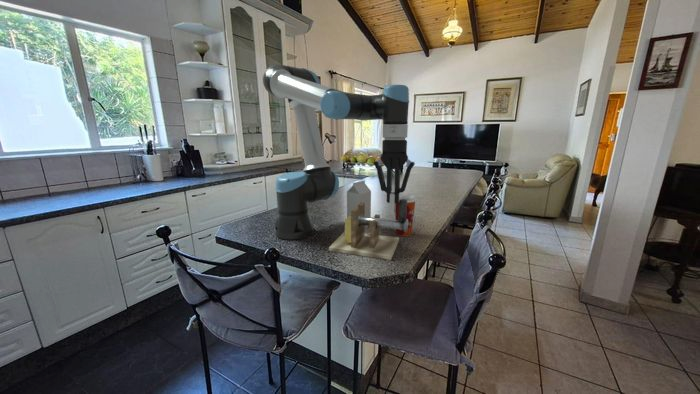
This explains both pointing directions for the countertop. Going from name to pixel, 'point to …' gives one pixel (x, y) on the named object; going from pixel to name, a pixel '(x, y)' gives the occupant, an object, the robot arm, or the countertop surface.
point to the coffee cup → (409, 213)
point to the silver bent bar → (389, 223)
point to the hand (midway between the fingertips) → (392, 212)
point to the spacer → (348, 229)
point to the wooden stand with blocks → (365, 239)
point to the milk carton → (359, 198)
